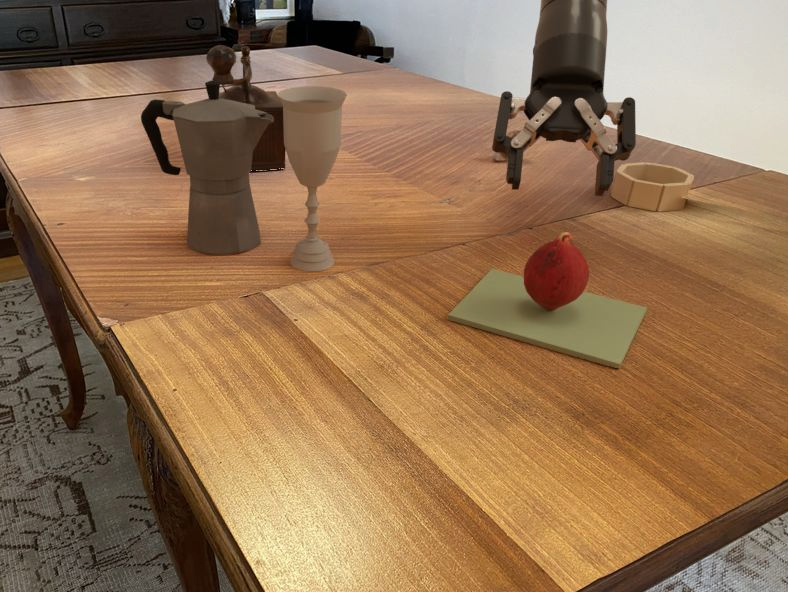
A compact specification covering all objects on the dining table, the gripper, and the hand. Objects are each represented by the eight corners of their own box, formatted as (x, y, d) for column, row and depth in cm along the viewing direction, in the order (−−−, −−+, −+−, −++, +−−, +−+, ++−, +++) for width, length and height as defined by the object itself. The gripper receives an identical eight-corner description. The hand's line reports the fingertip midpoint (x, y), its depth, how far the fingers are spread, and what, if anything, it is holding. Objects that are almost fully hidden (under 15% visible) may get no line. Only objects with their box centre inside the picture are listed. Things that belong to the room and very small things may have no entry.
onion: (552, 331, 65) (570, 251, 61) (505, 306, 69) (518, 230, 65) (591, 313, 68) (610, 236, 64) (543, 290, 72) (558, 216, 68)
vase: (536, 159, 111) (543, 120, 108) (524, 168, 107) (531, 128, 104) (504, 153, 113) (509, 115, 110) (491, 162, 110) (496, 123, 106)
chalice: (284, 247, 82) (281, 85, 72) (343, 248, 82) (347, 86, 72) (278, 275, 76) (274, 102, 66) (342, 276, 76) (346, 104, 66)
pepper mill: (209, 153, 112) (199, 30, 103) (278, 149, 114) (275, 29, 104) (215, 185, 99) (205, 48, 90) (292, 181, 101) (291, 46, 92)
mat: (646, 312, 70) (647, 307, 69) (618, 369, 61) (620, 364, 61) (491, 273, 77) (492, 268, 76) (447, 319, 68) (447, 314, 68)
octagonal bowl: (690, 195, 98) (697, 170, 96) (679, 216, 91) (687, 190, 89) (620, 182, 102) (626, 158, 100) (605, 202, 95) (611, 176, 93)
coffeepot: (289, 231, 86) (286, 75, 76) (263, 263, 78) (256, 95, 69) (173, 217, 89) (156, 67, 80) (137, 247, 82) (114, 84, 72)
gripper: (506, 28, 74) (491, 168, 71) (648, 32, 72) (640, 177, 69) (499, 71, 82) (485, 200, 78) (628, 76, 79) (620, 210, 76)
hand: (557, 189), depth 74 cm, fingers open, 8 cm apart
